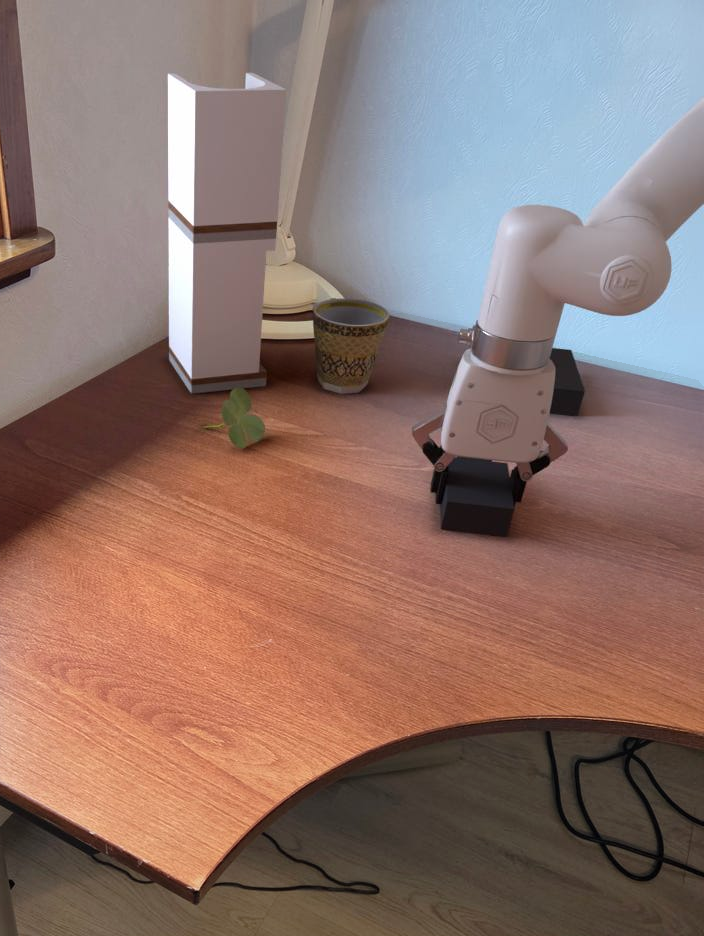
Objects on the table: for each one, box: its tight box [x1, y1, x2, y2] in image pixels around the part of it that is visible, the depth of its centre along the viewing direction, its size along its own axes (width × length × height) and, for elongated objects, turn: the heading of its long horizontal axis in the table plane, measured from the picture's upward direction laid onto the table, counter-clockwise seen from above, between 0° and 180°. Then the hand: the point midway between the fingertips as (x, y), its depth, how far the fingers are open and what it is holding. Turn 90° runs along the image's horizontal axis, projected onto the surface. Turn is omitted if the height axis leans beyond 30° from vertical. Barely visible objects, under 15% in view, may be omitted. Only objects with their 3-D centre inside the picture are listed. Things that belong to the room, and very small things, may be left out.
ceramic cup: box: [312, 297, 390, 395], centre depth 122 cm, size 13×10×10 cm
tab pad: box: [439, 456, 515, 538], centre depth 100 cm, size 7×13×4 cm, turn 170°
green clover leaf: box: [203, 387, 266, 449], centre depth 111 cm, size 7×8×6 cm
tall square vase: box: [167, 72, 287, 395], centre depth 114 cm, size 11×11×35 cm
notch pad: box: [549, 347, 586, 417], centre depth 124 cm, size 14×14×4 cm
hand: (473, 501), depth 99 cm, fingers closed on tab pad, 7 cm apart
